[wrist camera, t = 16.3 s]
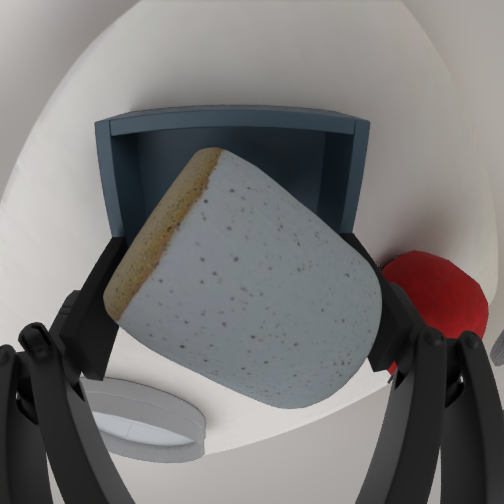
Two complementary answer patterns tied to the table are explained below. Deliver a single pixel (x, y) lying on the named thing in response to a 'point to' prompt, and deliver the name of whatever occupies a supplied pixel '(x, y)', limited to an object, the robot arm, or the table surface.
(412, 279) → the apple
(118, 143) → the tub
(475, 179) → the table surface
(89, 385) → the dish
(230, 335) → the ceramic mug
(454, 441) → the robot arm
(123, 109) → the table surface
